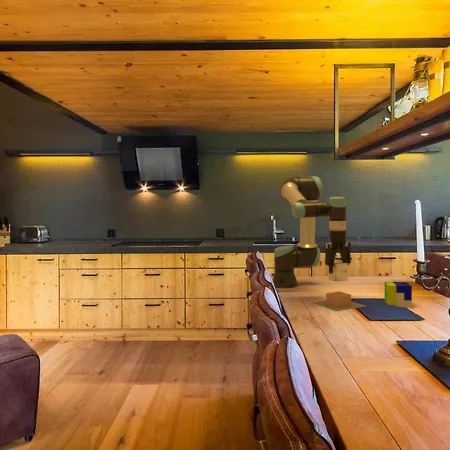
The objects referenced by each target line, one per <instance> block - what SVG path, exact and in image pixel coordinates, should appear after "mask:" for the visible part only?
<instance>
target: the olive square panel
mask: <svg viewBox="0 0 450 450" xmlns="http://www.w3.org/2000/svg"><path fill="white" fill-rule="evenodd" d="M312 304H314V305H316V306H320V307H323V308H325V309H328V310H331V311H334V312H340V311H341V312H342V311H347V310H352V309H358V308H359V309H360V308H364V307H366V305H364V304H362V303H358V302H354V301H351V305H349V306H342V307H335V306H332V305H329V304H326V300H320V301H314V302H312Z"/></svg>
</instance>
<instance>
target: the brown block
mask: <svg viewBox="0 0 450 450" xmlns="http://www.w3.org/2000/svg"><path fill="white" fill-rule="evenodd" d="M334 266H335V281H333V280H330V273H329V272H328V280H329V281H333V282H337V283H338V282H346V281H348V275H349V274H348V265H347V263H343V262H342V261H334Z"/></svg>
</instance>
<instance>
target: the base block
mask: <svg viewBox="0 0 450 450" xmlns="http://www.w3.org/2000/svg"><path fill="white" fill-rule="evenodd" d="M325 301H326V304H329V305H332V306H335V307H342V306H349V305H351V302H352V294H351V293H347V292H343V291H340V290H339V291H334V292H333V291H331V292H327V293H325Z"/></svg>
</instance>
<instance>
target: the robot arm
mask: <svg viewBox="0 0 450 450" xmlns="http://www.w3.org/2000/svg"><path fill="white" fill-rule="evenodd" d="M279 190H280V194H281V196H282V197H283V198H284V199H285V200H287V201H288V202H289V204H290V205H291V214H292V216H293V218H297V219H299V220H300V225H299V228H300V229H299V242H298V243H297V244H296V246H297V247H294V245H283V246H278V247H276V248H274V252H273V260H274V262H273V263H274V265H273V266H274V267H273V268H274V269H273V270H274V273H273V276H272V280H273V283H274V285H275V286H276V287H275V288H280V287H290V288H296V287H297V286H298V280H297V277H296V275H295V274H296V273H295V268H313V267H317V266H318V265H319V263H320V259H321V250H320V248H319V247H318V245H317V243H316V239H315V238H316V235H315V234H316V218H327V217H328V220H329V223H328V225H329V227H328V228H329V232H328V233H329V239H330V240H329V243H328V242H327V243H324V249H325V250H324V251H325V252H324V253H325V256H324V265H325V266H327V267H328V274H329V273H330V280H329V281H332V280H333V282H336V281H335V266H334V262H336V256H337V253H339V255H340V260H341V262H343V263H347V266H349V265H350V264H351V263H352V255H351V245H352V243H351V242H348V241H346V238H347V231H346V229H347V201H346V200H347V199H346V198H345V196H330V197H329V199H328V201H319V198H320V197H321V196H322V195H323V183H322V180H321V179H320V176H314V175H307V176H306V175H304V176H290V177H287V178H286V179H285V180H283V181H282V183H280V188H279ZM295 286H296V287H295Z"/></svg>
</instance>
